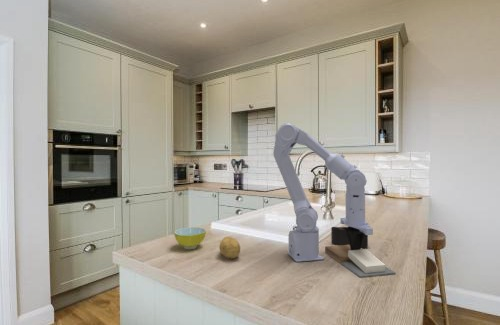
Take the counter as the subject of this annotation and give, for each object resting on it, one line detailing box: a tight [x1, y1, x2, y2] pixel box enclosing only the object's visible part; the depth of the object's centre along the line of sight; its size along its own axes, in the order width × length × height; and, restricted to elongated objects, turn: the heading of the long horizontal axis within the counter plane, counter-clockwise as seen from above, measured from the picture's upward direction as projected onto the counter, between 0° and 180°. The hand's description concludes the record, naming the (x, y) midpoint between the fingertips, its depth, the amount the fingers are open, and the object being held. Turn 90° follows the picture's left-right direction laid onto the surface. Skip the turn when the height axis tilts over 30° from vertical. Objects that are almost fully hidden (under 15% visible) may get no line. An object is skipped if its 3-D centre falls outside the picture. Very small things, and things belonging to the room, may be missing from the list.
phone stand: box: [330, 226, 369, 250], centre depth 102 cm, size 9×6×12 cm
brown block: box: [324, 245, 363, 264], centre depth 89 cm, size 11×10×2 cm
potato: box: [219, 236, 241, 259], centre depth 90 cm, size 7×11×6 cm, turn 10°
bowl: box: [173, 226, 207, 251], centre depth 99 cm, size 11×12×6 cm
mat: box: [340, 261, 397, 279], centre depth 79 cm, size 11×10×1 cm
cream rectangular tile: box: [348, 248, 386, 273], centre depth 80 cm, size 6×9×2 cm, turn 11°
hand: (355, 251), depth 85 cm, fingers closed
